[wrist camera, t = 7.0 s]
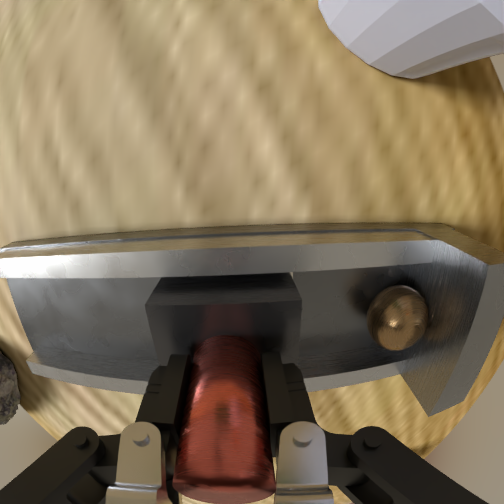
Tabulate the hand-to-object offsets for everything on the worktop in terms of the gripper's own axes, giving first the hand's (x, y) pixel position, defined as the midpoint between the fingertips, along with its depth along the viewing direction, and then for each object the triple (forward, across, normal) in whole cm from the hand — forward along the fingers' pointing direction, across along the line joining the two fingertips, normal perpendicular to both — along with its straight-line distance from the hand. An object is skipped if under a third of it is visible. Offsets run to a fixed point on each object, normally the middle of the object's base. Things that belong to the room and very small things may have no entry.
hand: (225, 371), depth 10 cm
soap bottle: (+6, -10, -18) cm, 22 cm away
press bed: (+6, +1, 0) cm, 6 cm away
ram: (+4, 0, 0) cm, 4 cm away
